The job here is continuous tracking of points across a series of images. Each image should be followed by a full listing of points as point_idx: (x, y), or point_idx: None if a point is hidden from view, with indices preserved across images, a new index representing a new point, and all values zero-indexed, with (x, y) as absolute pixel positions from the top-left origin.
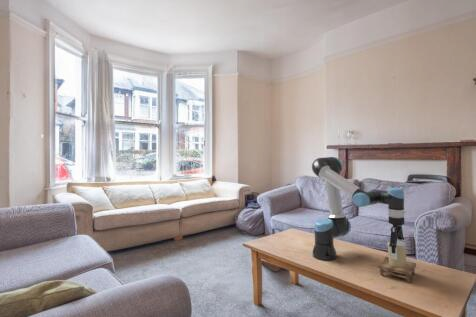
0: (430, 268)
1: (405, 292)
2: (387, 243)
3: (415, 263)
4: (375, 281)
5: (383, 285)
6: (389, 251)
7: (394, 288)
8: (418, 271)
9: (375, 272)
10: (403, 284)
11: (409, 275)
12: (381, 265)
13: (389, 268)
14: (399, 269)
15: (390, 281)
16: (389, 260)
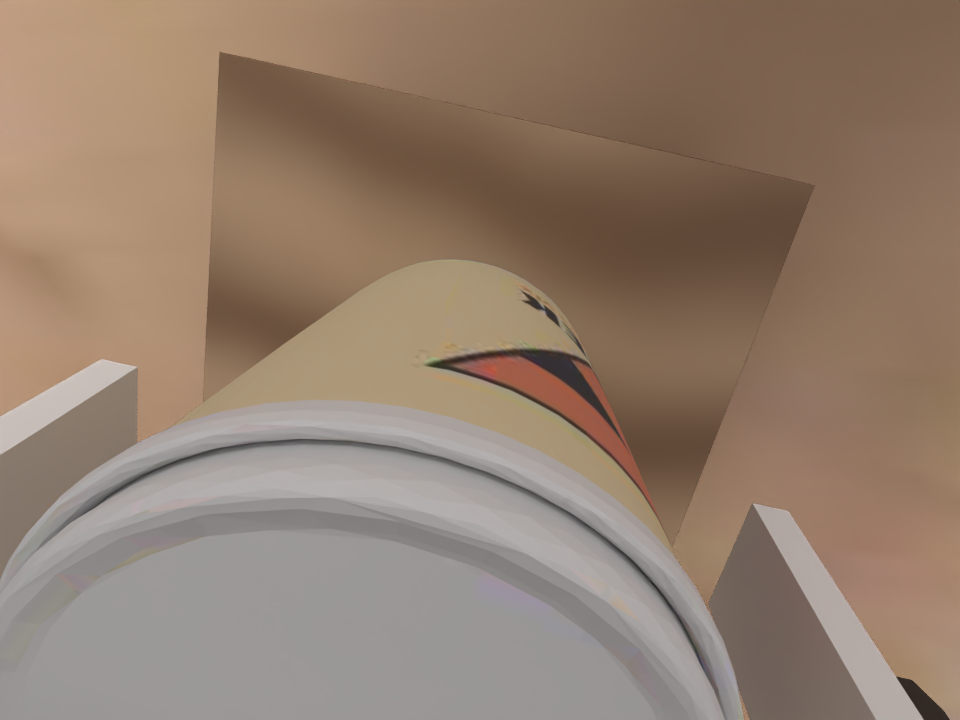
0: None
1: (2, 392)
2: (205, 435)
3: None
4: (50, 31)
5: (3, 151)
6: (248, 370)
7: (16, 284)
8: (680, 564)
9: (382, 6)
10: (193, 383)
11: None
12: (247, 114)
13: (215, 260)
14: None
15: (183, 239)
16: (372, 283)
